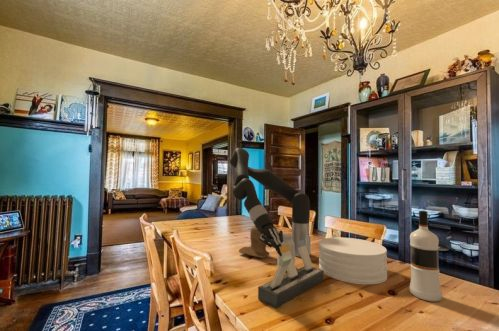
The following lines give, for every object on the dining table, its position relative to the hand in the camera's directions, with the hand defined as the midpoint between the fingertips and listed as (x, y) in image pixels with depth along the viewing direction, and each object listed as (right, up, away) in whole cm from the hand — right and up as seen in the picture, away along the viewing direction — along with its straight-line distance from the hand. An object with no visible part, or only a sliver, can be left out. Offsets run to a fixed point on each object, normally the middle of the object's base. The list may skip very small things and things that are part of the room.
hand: (282, 254), depth 91 cm
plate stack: (+33, -13, +15) cm, 39 cm away
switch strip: (+3, -11, -4) cm, 12 cm away
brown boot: (-9, -14, +35) cm, 38 cm away
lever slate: (+11, -7, +4) cm, 14 cm away
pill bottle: (+4, -13, +17) cm, 21 cm away
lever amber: (+3, -7, -4) cm, 9 cm away
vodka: (+50, -12, -8) cm, 52 cm away
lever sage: (-4, -6, -11) cm, 14 cm away
